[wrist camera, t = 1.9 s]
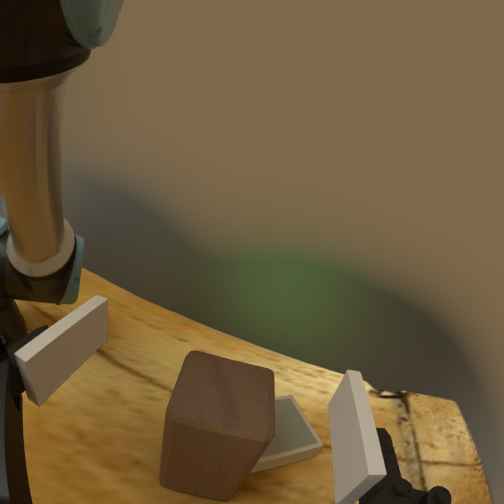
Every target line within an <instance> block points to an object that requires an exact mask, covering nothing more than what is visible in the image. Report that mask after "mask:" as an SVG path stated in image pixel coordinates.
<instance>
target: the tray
mask: <svg viewBox="0 0 504 504" xmlns="http://www.w3.org/2000/svg"><path fill="white" fill-rule="evenodd" d="M322 446H323V443H322V442H321V440H320V439H319V437H318V436H317V434H316V432H315V431H314V429H313V428H312V426H311V425H310V423H309V422H308V420H307V418H306V417H305V415H304V414H303V412H302V410H301V409H300V407H299V406H298V404H297V402H296V401H295V399H294V398H293V396H292V395H287V396H281V397H275V436H274V437H273V439H272V441H271V442H270V444H269V445H268V447H267V448H266V450H265V451H264V453H263V454H262V456H261V457H260V459H259V460H258V462H257V463H256V465H255V466H254V467H253V469H252V470H251V472H250V473H253V472H258V471H263V470H267V469H271V468H275V467H279V466H283V465H287V464H291V463H294V462H298V461H301V460H304V459H308V458H311V457H314V456H315V454H316V453H317V452H318V451H319V450H320V449H321V448H322Z"/></svg>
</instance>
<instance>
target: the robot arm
mask: <svg viewBox="0 0 504 504" xmlns="http://www.w3.org/2000/svg"><path fill="white" fill-rule="evenodd" d="M123 1H124V0H0V196H1V201H2V205H3V209H4V213H5V216H6V219H5V218H2V217H0V504H33V503H32V499H31V494H30V488H29V482H28V476H27V469H26V461H25V451H24V438H23V413H22V395H21V393H23V392H24V391H26V394H27V397H28V399H29V400H31V401H32V402H33V403H35V404H36V405H38V406H39V407H40V406H41V405H42V404H43V403H44V402H45V401H46V400H47V399H48V398H49V397H50V396H51V395H52V394H53V393H54V392H55V391H56V390H57V389H58V388H59V387H60V386H61V385H62V384H63V383H64V382H65V381H66V380H67V379H68V378H69V377H70V376H71V375H72V374H73V373H74V372H75V371H76V370H77V369H78V368H79V367H80V366H81V365H82V364H83V363H84V362H85V361H86V360H87V359H88V358H89V357H90V356H91V355H92V354H93V353H94V352H95V351H96V350H97V349H98V348H99V347H100V346H101V345H102V344H104V343H105V342H106V341H107V340H108V299H106V298H104V297H101V296H99V295H96V296H94V297H93V298H91V299H90V300H88V301H87V302H85V303H84V304H82V305H81V306H80V307H78V308H77V309H75V310H74V311H72V312H71V313H69V314H68V315H66V316H65V317H64V318H62V319H61V320H59V321H58V322H57V323H55V324H54V325H52V326H51V327H49V326H47V325H45V326H42V327H39V328H37V329H35V330H34V331H32V332H31V333H30V334H28V335H27V329H26V324H25V320H24V318H23V316H22V314H21V312H20V310H19V308H18V306H17V304H16V302H15V300H14V299H17V300H25V301H34V302H43V303H53V304H56V305H61V304H74V303H75V302H76V301H77V299H78V294H79V285H80V276H81V269H82V260H83V251H84V239H83V238H82V237H80V236H78V235H74V233H73V230H72V228H71V226H70V224H69V223H68V222H67V221H66V220H65V219H64V218H63V201H62V200H63V199H62V155H63V135H64V122H65V112H66V103H67V95H68V88H69V82H70V76H71V75H72V74H73V73H74V72H76V71H77V70H79V69H80V68H81V67H82V66H84V65H85V64H86V63H87V61H88V59H89V56H90V52H91V49H94V48H96V47H100V46H103V45H104V44H106V43H107V41H108V40H109V38H110V37H111V34H112V33H113V30H114V28H115V25H116V22H117V19H118V14H119V12H120V10H121V8H122V4H123ZM7 228H9V230H8V229H7ZM328 415H329V425H330V436H331V447H332V460H333V474H334V490H335V504H354V503H355V502H356V501H358V500H359V504H451V494H450V492H449V491H448V490H447V489H446V488H444V487H442V486H436V487H433V488H432V489H431V490H430V491H428V492H426V491H421V490H416V489H413V487H412V485H411V484H410V483H409V482H408V481H407V480H405V479H403V478H402V477H401V474H400V470H399V466H398V462H397V458H396V454H395V453H394V452H395V451H394V447H393V443H392V440H391V436H390V435H389V434H388V432H387V431H386V430H385V428H376V427H375V423H374V419H373V415H372V411H371V408H370V404H369V400H368V397H367V393H366V390H365V386H364V383H363V379H362V376H361V373H360V372H358V371H352V370H347V371H346V373H345V375H344V377H343V379H342V381H341V383H340V384H339V386H338V388H337V390H336V392H335V394H334V395H333V397H332V399H331V401H330V402H329V404H328Z"/></svg>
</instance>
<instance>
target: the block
mask: <svg viewBox="0 0 504 504" xmlns="http://www.w3.org/2000/svg"><path fill="white" fill-rule="evenodd" d="M274 436H275V392H274V373H273V371H272V370H270V369H268V368H264V367H260V366H255V365H251V364H247V363H242V362H238V361H234V360H230V359H226V358H222V357H219V356H215V355H211V354H208V353H204V352H200V351H191V352H189V354H188V355H187V356H186V357H185V360H184V363H183V365H182V368H181V371H180V373H179V376H178V379H177V382H176V384H175V387H174V390H173V393H172V395H171V398H170V401H169V404H168V406H167V409H166V416H165V424H164V434H163V443H162V454H161V465H160V478H159V480H160V484H161V485H162V486H164V487H166V488H169V489H173V490H176V491H180V492H184V493H188V494H192V495H197V496H201V497H206V498H211V499H216V500H222V501H227V500H230V499H231V497H232V496H233V495H234V493H235V492H236V491H237V490H238V488H239V487H240V486H241V484H242V483H243V481H244V480H245V479H246V477H247V476H248V475H249V473H250V472H251V470H252V469H253V467H254V466H255V465H256V463H257V462H258V460H259V459H260V457H261V456H262V454H263V453H264V451H265V450H266V448H267V447H268V445H269V444H270V442H271V441H272V439H273V437H274Z"/></svg>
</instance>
